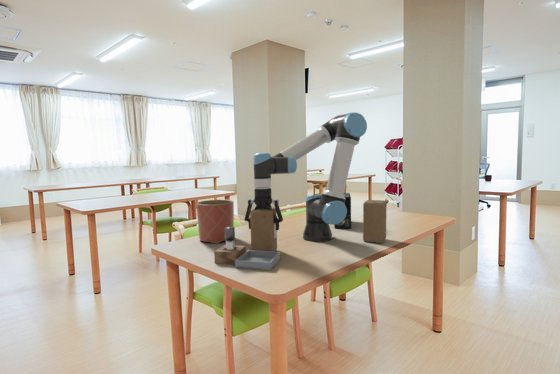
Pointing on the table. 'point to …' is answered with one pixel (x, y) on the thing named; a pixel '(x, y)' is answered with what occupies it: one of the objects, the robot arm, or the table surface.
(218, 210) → the planter
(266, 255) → the tray
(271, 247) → the wooden block
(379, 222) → the block
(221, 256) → the block
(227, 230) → the cylinder
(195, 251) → the table surface
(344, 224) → the box
